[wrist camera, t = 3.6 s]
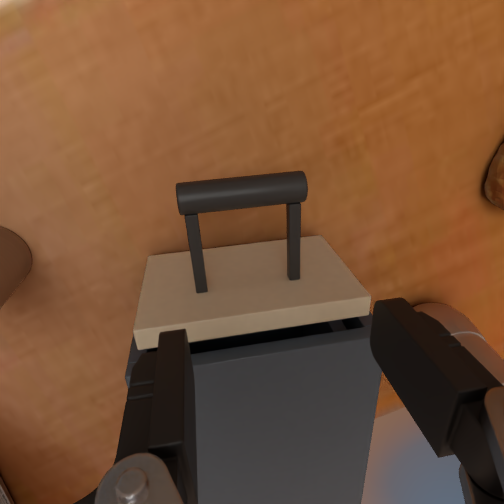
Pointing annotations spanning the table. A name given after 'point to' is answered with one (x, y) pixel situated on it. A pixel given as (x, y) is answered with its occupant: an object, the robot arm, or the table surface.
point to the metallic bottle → (466, 336)
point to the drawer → (246, 275)
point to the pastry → (496, 179)
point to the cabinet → (285, 418)
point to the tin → (4, 494)
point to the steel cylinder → (12, 263)
